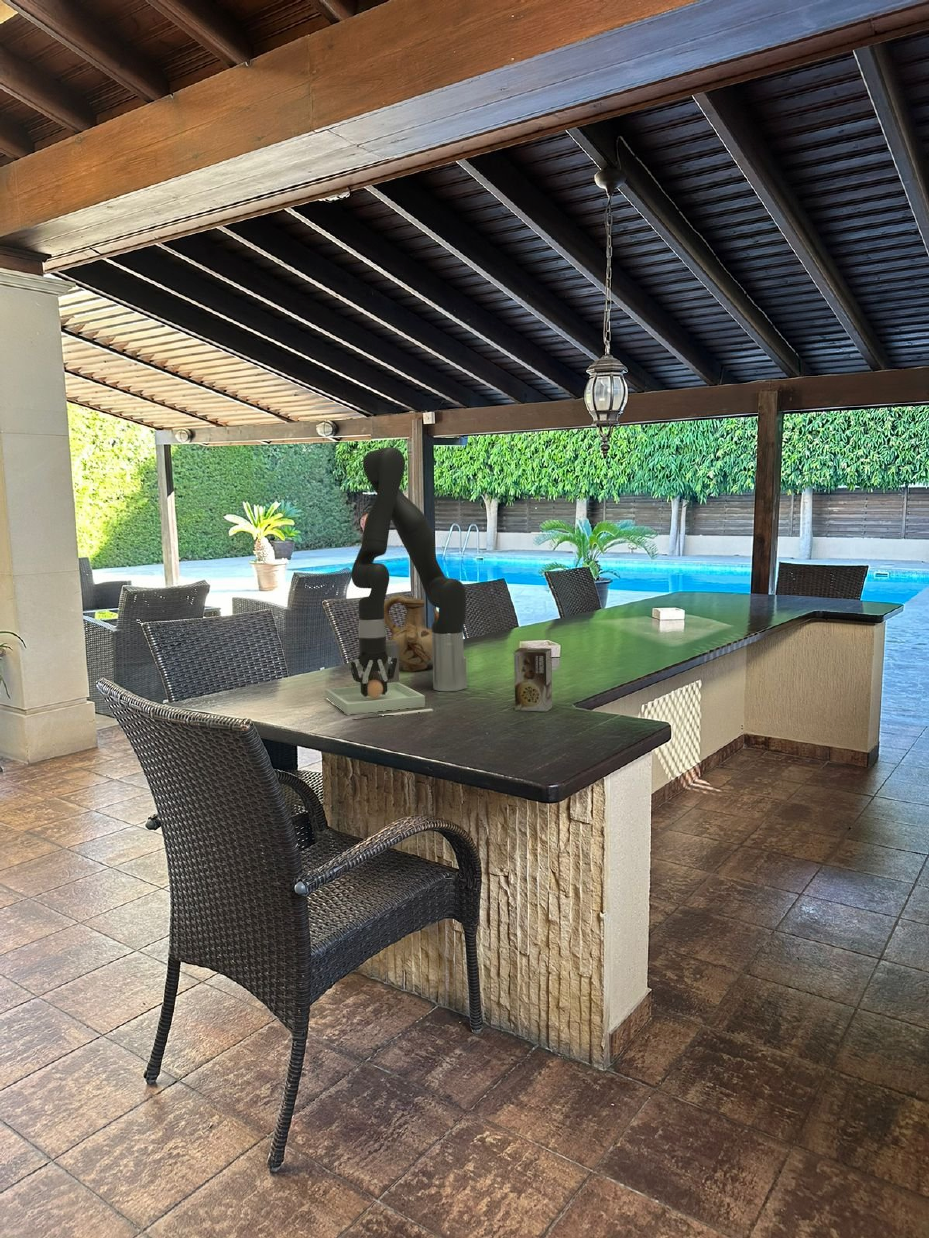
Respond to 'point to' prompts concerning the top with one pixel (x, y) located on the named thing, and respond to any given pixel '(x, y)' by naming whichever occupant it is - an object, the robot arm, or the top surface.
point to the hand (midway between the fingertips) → (374, 694)
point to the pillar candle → (391, 651)
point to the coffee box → (533, 679)
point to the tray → (375, 699)
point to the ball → (374, 688)
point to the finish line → (408, 712)
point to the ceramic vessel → (411, 633)
